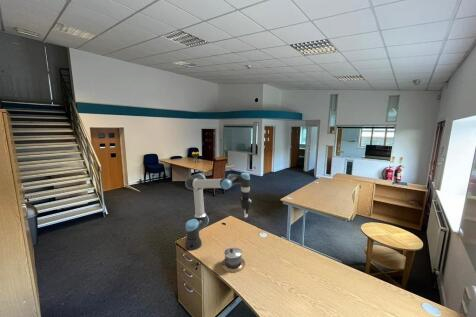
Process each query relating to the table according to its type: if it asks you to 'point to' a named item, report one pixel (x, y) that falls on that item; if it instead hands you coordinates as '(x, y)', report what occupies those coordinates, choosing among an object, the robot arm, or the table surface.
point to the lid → (233, 253)
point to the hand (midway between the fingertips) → (246, 216)
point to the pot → (233, 264)
